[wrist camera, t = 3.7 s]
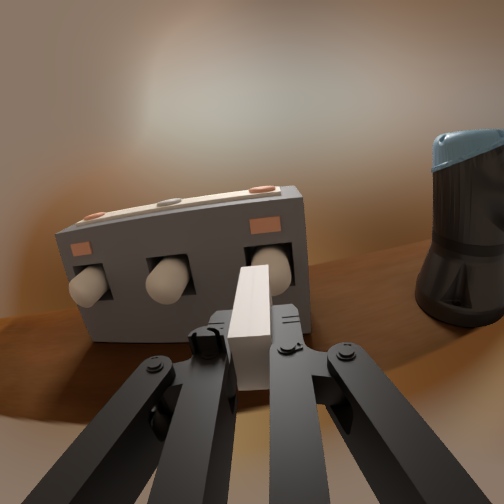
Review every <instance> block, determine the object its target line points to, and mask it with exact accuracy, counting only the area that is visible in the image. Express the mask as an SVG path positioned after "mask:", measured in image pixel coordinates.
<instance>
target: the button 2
mask: <svg viewBox="0 0 504 504" xmlns="http://www.w3.org/2000/svg"><path fill="white" fill-rule="evenodd" d="M258 265H268V266H269V275H270V285H271V295H272V296H277V295H279V294H281V293H283V292H284V291H285V290H286V289H287V288H288V287H289V285H290V283H291V271H290V266H289V261H288V256H287V252H286V250H285V248H284V247H283V246H282V245H281V244H280V243H277V244H268V245H259V246H257V247H256V248H255V249H254V251H253V255H252V263H251V266H258Z"/></svg>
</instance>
